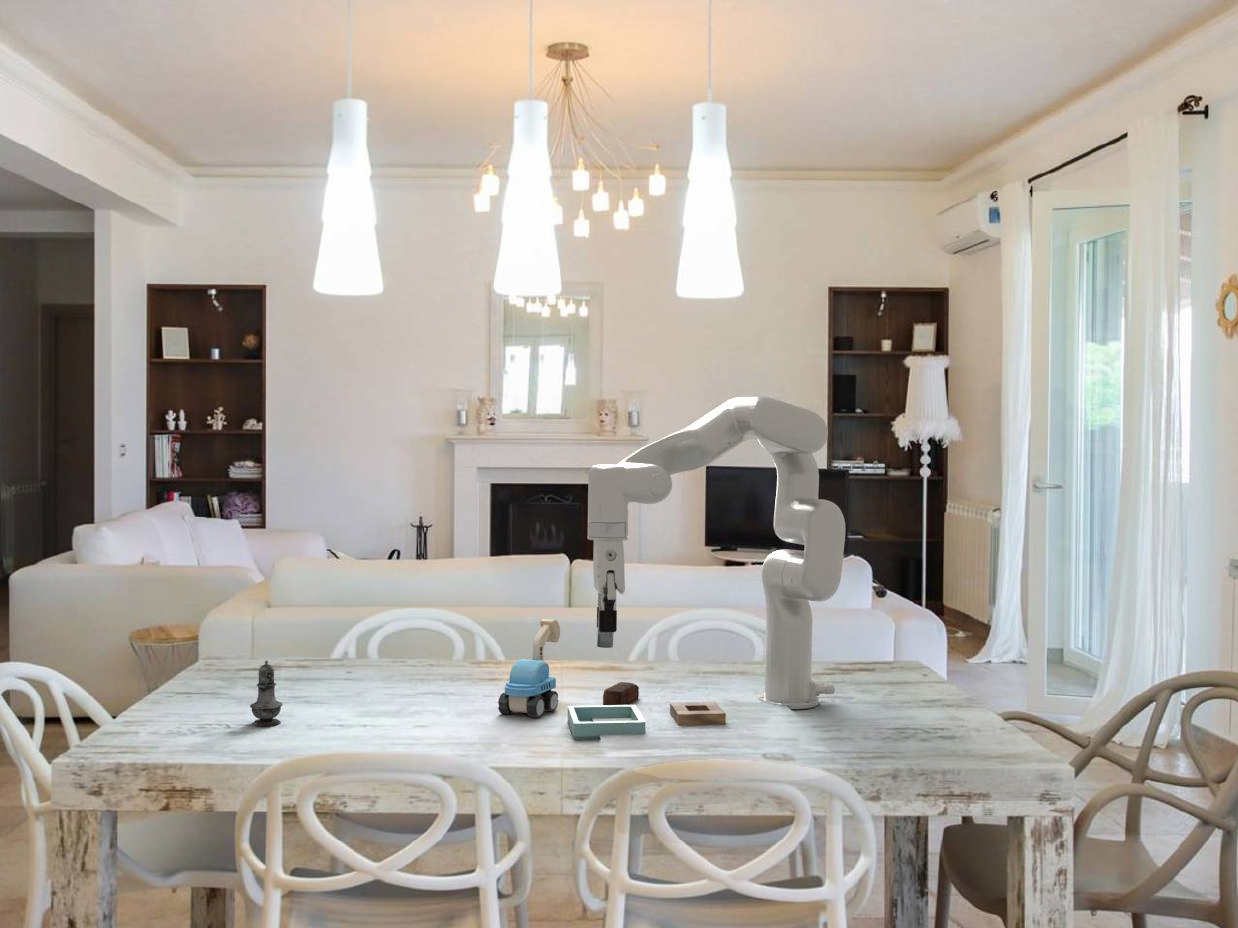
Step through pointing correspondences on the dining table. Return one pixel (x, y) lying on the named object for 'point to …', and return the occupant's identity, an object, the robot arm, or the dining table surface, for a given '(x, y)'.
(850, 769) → the dining table surface
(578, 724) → the tray
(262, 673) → the salt shaker
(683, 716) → the wooden square frame
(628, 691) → the brick
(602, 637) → the pin
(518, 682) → the toy excavator
